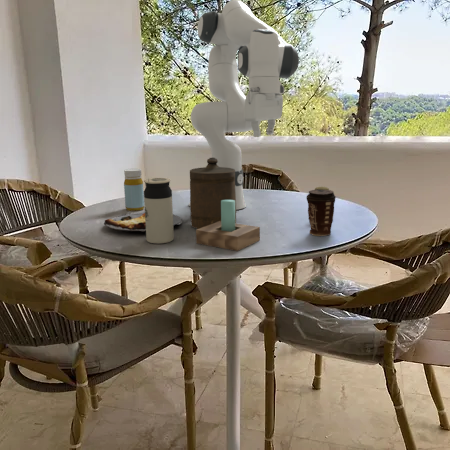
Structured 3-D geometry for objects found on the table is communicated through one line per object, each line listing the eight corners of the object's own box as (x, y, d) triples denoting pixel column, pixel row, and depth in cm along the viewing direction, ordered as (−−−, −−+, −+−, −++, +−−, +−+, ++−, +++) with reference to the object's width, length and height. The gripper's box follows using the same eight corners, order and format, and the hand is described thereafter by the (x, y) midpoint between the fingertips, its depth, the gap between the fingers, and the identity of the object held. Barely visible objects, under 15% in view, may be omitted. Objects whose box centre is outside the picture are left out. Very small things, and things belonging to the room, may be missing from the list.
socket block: (196, 243, 140) (195, 229, 139) (219, 233, 149) (219, 221, 148) (237, 251, 132) (237, 236, 131) (259, 240, 142) (259, 227, 141)
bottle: (146, 207, 188) (143, 168, 184) (142, 211, 181) (140, 171, 177) (128, 207, 188) (125, 168, 184) (123, 211, 181) (121, 171, 177)
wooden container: (216, 217, 170) (215, 154, 165) (245, 225, 159) (245, 157, 154) (181, 224, 161) (179, 157, 155) (210, 233, 150) (208, 161, 144)
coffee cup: (316, 228, 154) (318, 187, 151) (339, 232, 148) (341, 190, 145) (300, 233, 148) (301, 191, 145) (324, 238, 142) (325, 195, 139)
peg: (218, 241, 141) (218, 200, 138) (229, 239, 143) (228, 199, 140) (227, 244, 138) (227, 203, 135) (238, 241, 140) (238, 201, 137)
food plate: (133, 240, 143) (133, 228, 142) (90, 228, 159) (89, 217, 158) (195, 226, 161) (195, 215, 160) (150, 216, 177) (150, 206, 176)
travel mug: (174, 236, 147) (172, 177, 143) (172, 244, 139) (170, 181, 135) (148, 236, 147) (145, 177, 142) (144, 244, 139) (141, 182, 135)
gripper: (259, 87, 132) (259, 138, 136) (286, 87, 150) (285, 133, 153) (238, 87, 135) (238, 138, 138) (267, 88, 152) (267, 133, 156)
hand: (263, 135), depth 146 cm, fingers open, 8 cm apart
